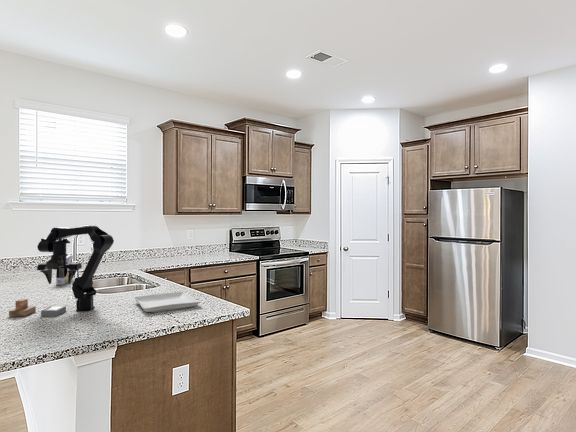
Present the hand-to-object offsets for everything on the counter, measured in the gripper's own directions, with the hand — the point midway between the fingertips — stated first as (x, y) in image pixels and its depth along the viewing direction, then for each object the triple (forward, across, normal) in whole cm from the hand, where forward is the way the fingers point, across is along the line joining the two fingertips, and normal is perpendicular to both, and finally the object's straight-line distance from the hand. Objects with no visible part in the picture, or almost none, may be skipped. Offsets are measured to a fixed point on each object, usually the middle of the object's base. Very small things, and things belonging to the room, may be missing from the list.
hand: (59, 283), depth 184 cm
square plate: (+13, +51, +2) cm, 53 cm away
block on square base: (+12, -11, -11) cm, 20 cm away
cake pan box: (+12, -31, +67) cm, 75 cm away
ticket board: (+12, +3, -11) cm, 17 cm away
